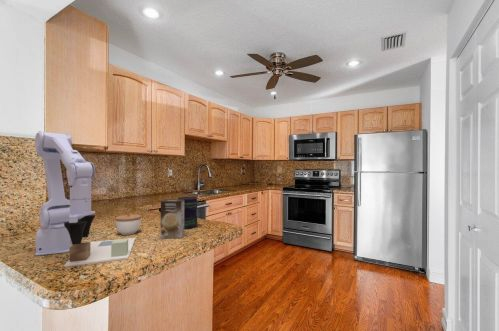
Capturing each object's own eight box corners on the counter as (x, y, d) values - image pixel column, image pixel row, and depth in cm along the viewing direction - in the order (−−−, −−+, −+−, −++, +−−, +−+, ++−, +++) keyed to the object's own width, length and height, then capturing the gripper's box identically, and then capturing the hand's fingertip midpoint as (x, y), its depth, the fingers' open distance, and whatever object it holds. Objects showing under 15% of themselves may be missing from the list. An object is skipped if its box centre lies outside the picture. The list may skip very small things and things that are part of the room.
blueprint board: (63, 267, 72) (63, 264, 72) (86, 243, 94) (86, 242, 94) (128, 259, 78) (128, 257, 78) (135, 239, 101) (135, 237, 101)
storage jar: (200, 227, 119) (199, 198, 120) (180, 230, 115) (180, 199, 115) (194, 223, 128) (194, 196, 128) (175, 226, 123) (175, 197, 123)
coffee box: (159, 238, 101) (159, 201, 101) (164, 234, 107) (164, 199, 108) (181, 238, 101) (181, 200, 102) (184, 234, 108) (184, 199, 108)
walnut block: (69, 262, 74) (69, 247, 74) (74, 257, 79) (74, 243, 79) (86, 260, 76) (86, 245, 76) (90, 255, 80) (90, 241, 80)
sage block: (111, 257, 78) (111, 243, 78) (113, 252, 83) (113, 239, 83) (126, 255, 80) (126, 241, 80) (128, 251, 84) (128, 238, 84)
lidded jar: (131, 229, 117) (131, 210, 117) (146, 231, 112) (146, 212, 112) (109, 234, 108) (110, 214, 108) (125, 237, 103) (125, 216, 103)
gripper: (88, 200, 72) (88, 245, 72) (100, 196, 86) (100, 233, 85) (60, 202, 70) (60, 248, 69) (77, 197, 83) (76, 235, 83)
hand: (80, 240), depth 77 cm, fingers open, 7 cm apart
